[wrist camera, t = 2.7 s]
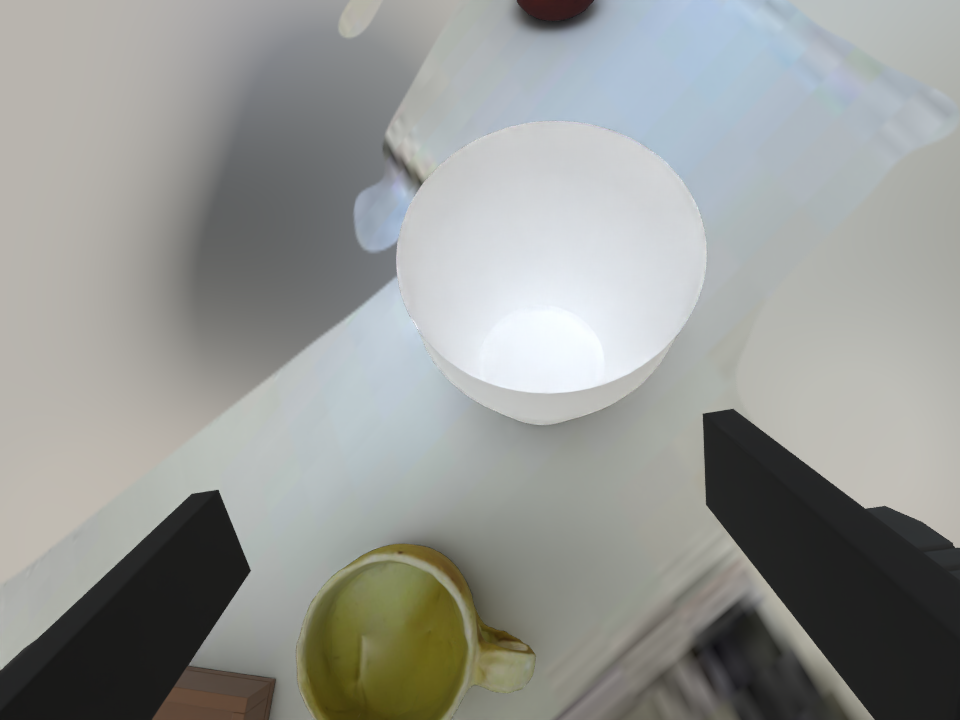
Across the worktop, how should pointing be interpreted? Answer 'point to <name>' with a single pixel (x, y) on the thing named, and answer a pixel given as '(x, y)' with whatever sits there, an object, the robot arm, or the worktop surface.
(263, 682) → the tray
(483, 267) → the cup
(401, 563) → the mug
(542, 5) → the dark red rounded lump
